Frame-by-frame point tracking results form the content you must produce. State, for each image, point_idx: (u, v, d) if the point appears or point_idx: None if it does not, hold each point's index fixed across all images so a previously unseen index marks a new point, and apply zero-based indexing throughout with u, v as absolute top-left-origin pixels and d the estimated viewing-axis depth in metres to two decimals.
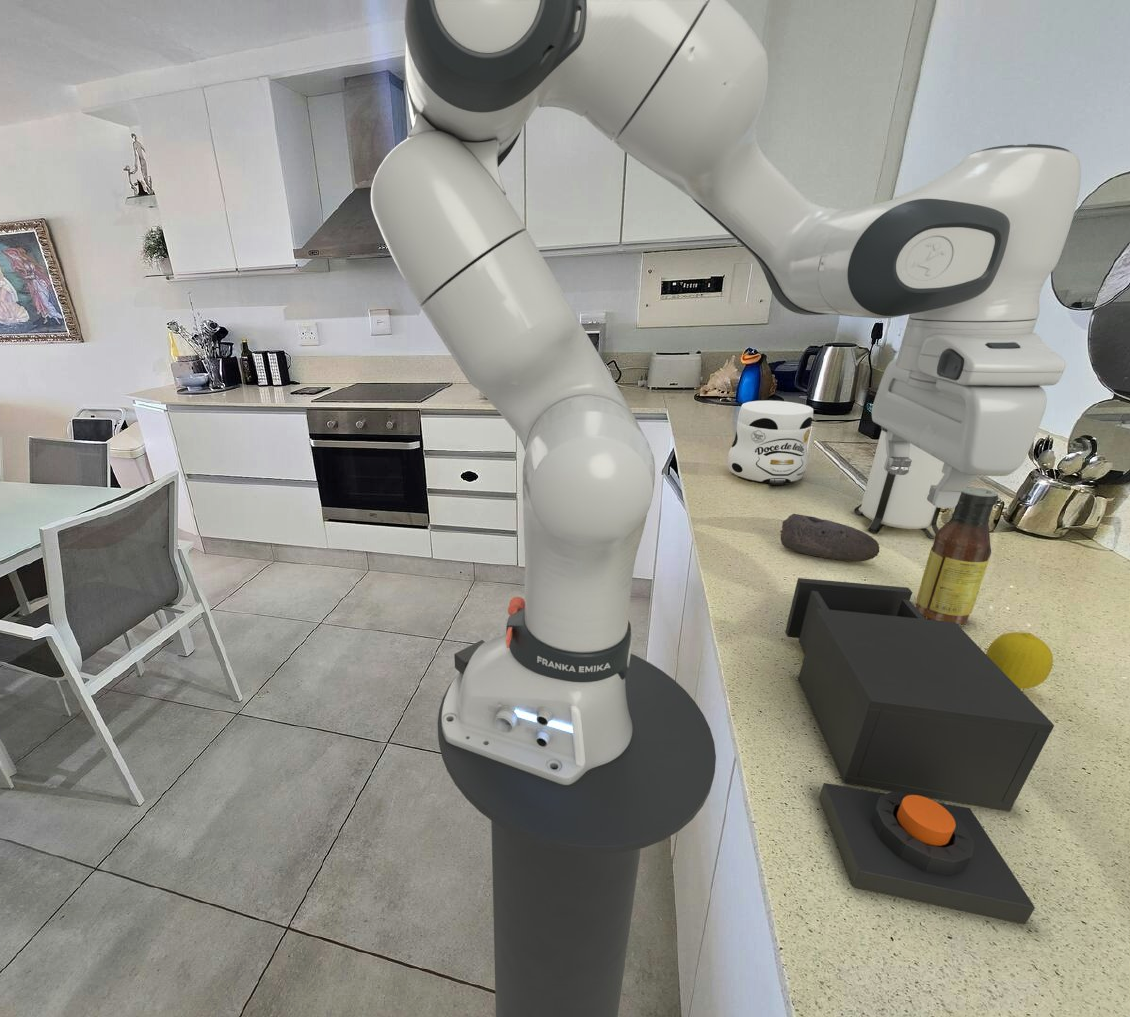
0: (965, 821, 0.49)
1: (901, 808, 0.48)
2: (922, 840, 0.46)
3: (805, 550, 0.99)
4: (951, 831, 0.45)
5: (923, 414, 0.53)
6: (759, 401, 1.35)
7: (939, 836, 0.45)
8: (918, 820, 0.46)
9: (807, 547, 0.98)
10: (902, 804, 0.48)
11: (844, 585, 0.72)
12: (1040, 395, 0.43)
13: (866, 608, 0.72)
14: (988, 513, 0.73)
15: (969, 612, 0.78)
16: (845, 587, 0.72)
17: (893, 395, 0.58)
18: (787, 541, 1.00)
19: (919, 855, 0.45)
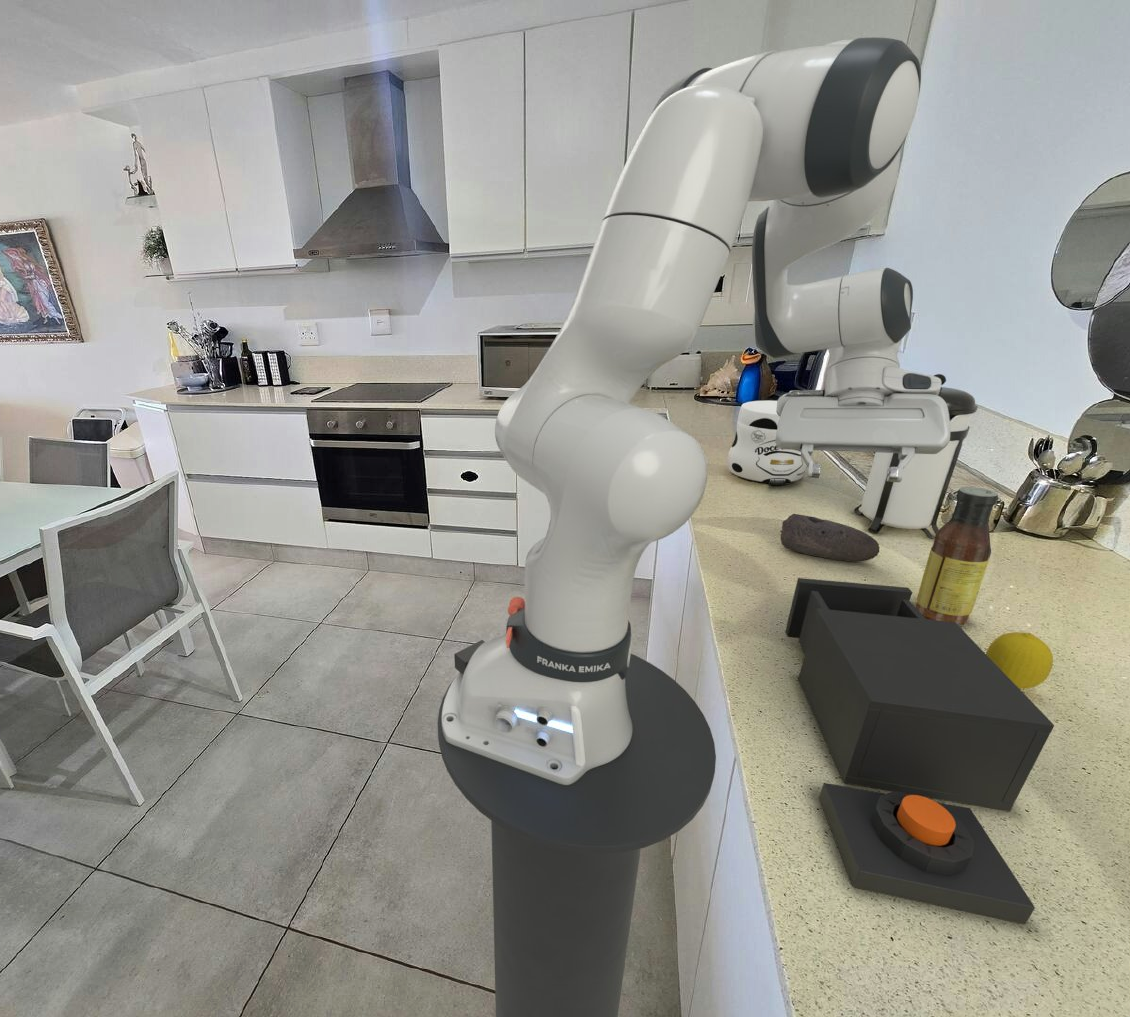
0: (965, 821, 0.49)
1: (901, 808, 0.48)
2: (922, 840, 0.46)
3: (805, 550, 0.99)
4: (951, 831, 0.45)
5: (867, 422, 0.77)
6: (759, 401, 1.35)
7: (939, 836, 0.45)
8: (918, 820, 0.46)
9: (807, 547, 0.98)
10: (902, 804, 0.48)
11: (844, 585, 0.72)
12: None
13: (866, 608, 0.72)
14: (988, 513, 0.73)
15: (969, 612, 0.78)
16: (845, 587, 0.72)
17: (812, 418, 0.80)
18: (787, 541, 1.00)
19: (919, 855, 0.45)
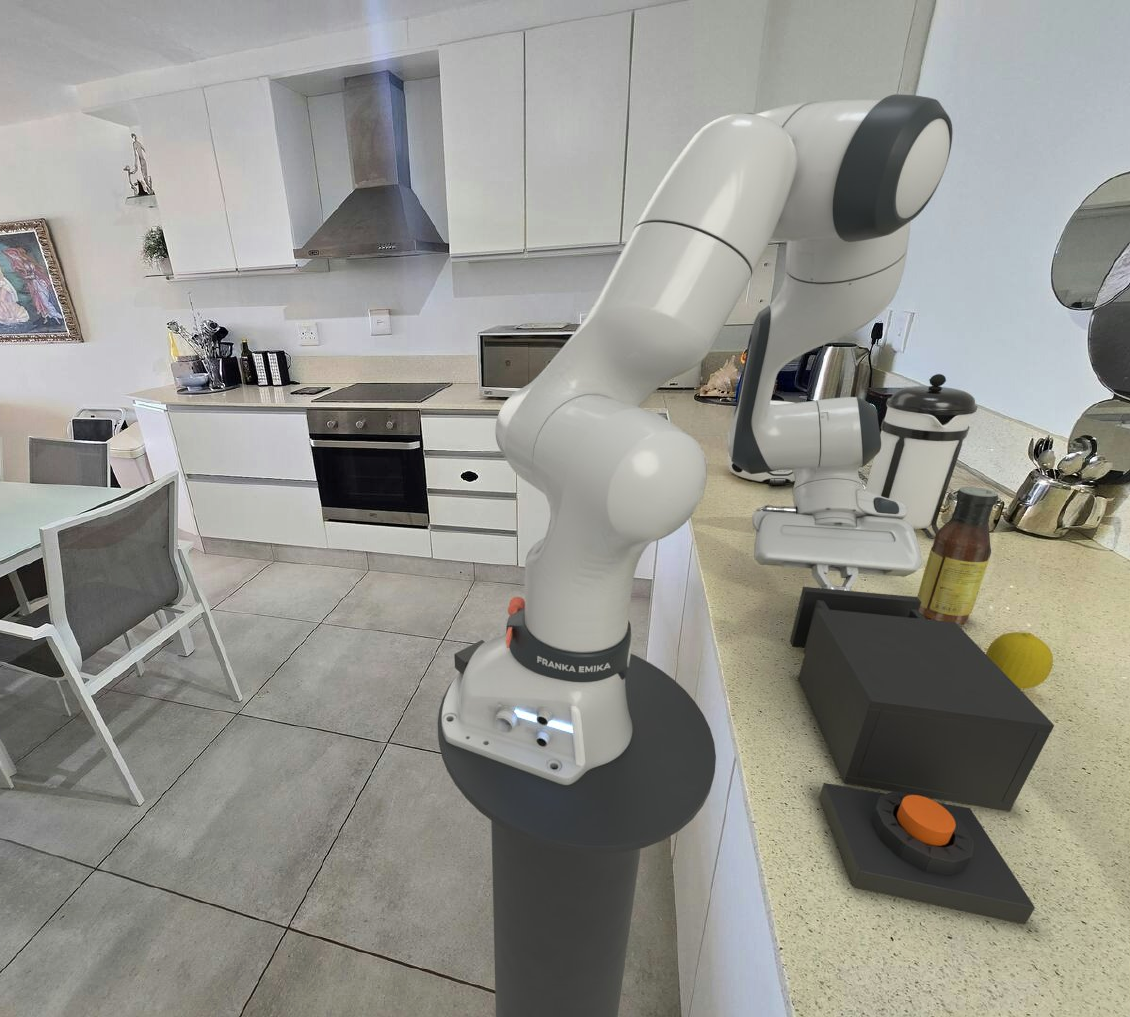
0: (965, 821, 0.49)
1: (901, 808, 0.48)
2: (922, 840, 0.46)
3: None
4: (951, 831, 0.45)
5: (845, 542, 0.77)
6: None
7: (939, 836, 0.45)
8: (918, 820, 0.46)
9: None
10: (902, 804, 0.48)
11: (850, 594, 0.70)
12: None
13: None
14: (988, 513, 0.73)
15: (969, 612, 0.78)
16: (852, 596, 0.70)
17: (792, 535, 0.79)
18: None
19: (919, 855, 0.45)
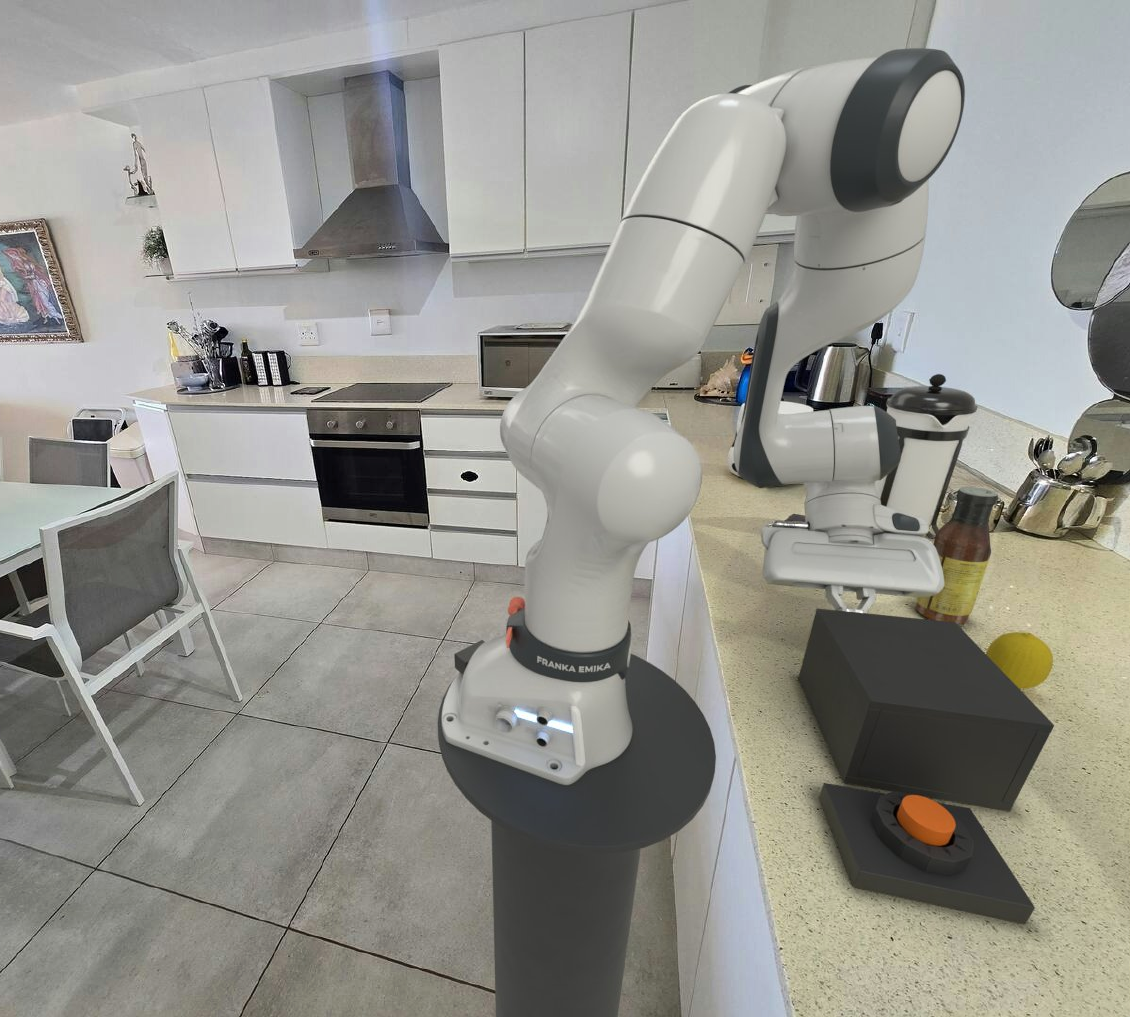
0: (965, 821, 0.49)
1: (901, 808, 0.48)
2: (922, 840, 0.46)
3: None
4: (951, 831, 0.45)
5: (861, 562, 0.72)
6: None
7: (939, 836, 0.45)
8: (918, 820, 0.46)
9: None
10: (902, 804, 0.48)
11: None
12: None
13: None
14: (988, 513, 0.73)
15: (969, 612, 0.78)
16: None
17: (805, 554, 0.74)
18: None
19: (919, 855, 0.45)
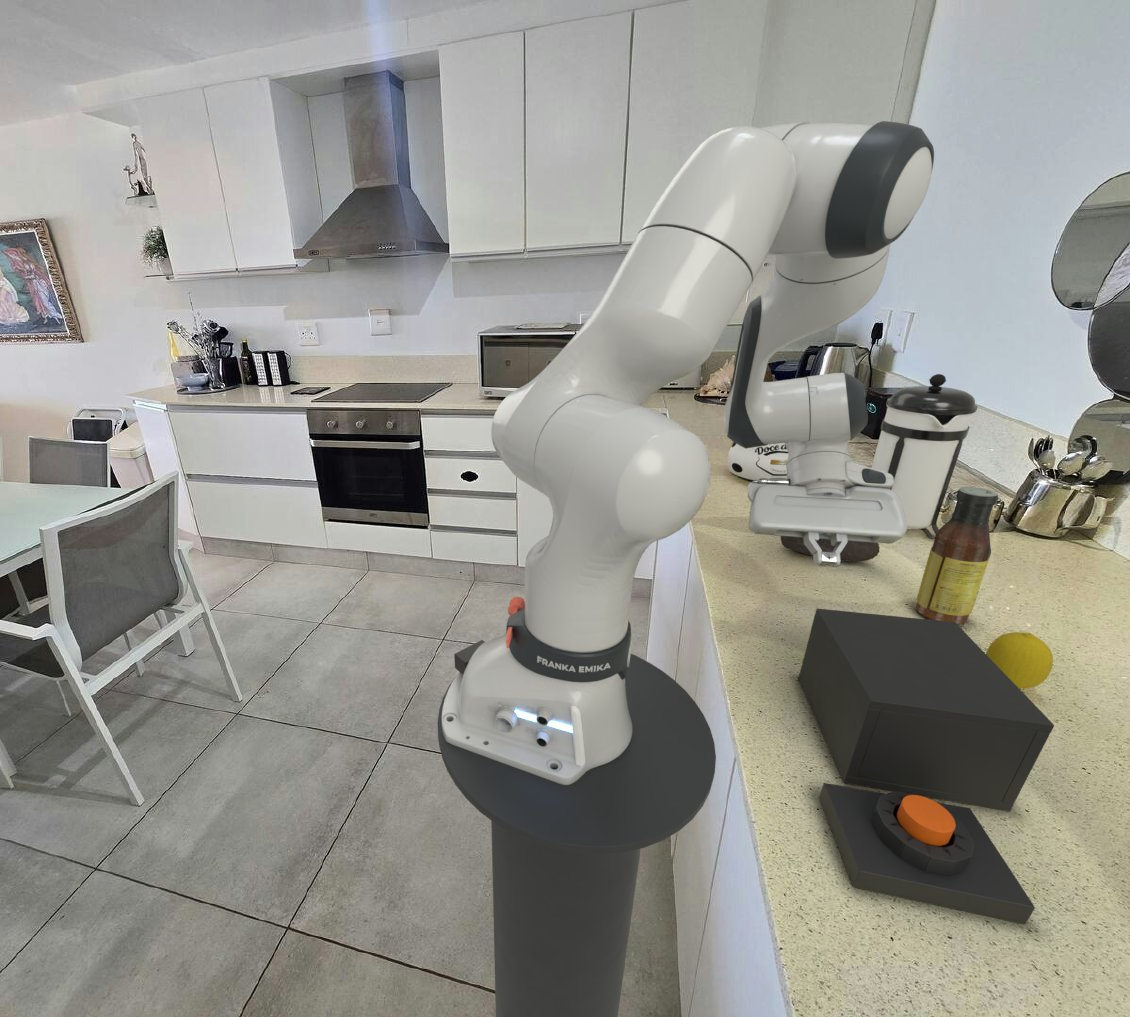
0: (965, 821, 0.49)
1: (901, 808, 0.48)
2: (922, 840, 0.46)
3: (805, 550, 0.99)
4: (951, 831, 0.45)
5: (835, 511, 0.81)
6: None
7: (939, 836, 0.45)
8: (918, 820, 0.46)
9: None
10: (902, 804, 0.48)
11: None
12: None
13: None
14: (988, 513, 0.73)
15: (969, 612, 0.78)
16: None
17: (785, 505, 0.83)
18: (787, 541, 1.00)
19: (919, 855, 0.45)
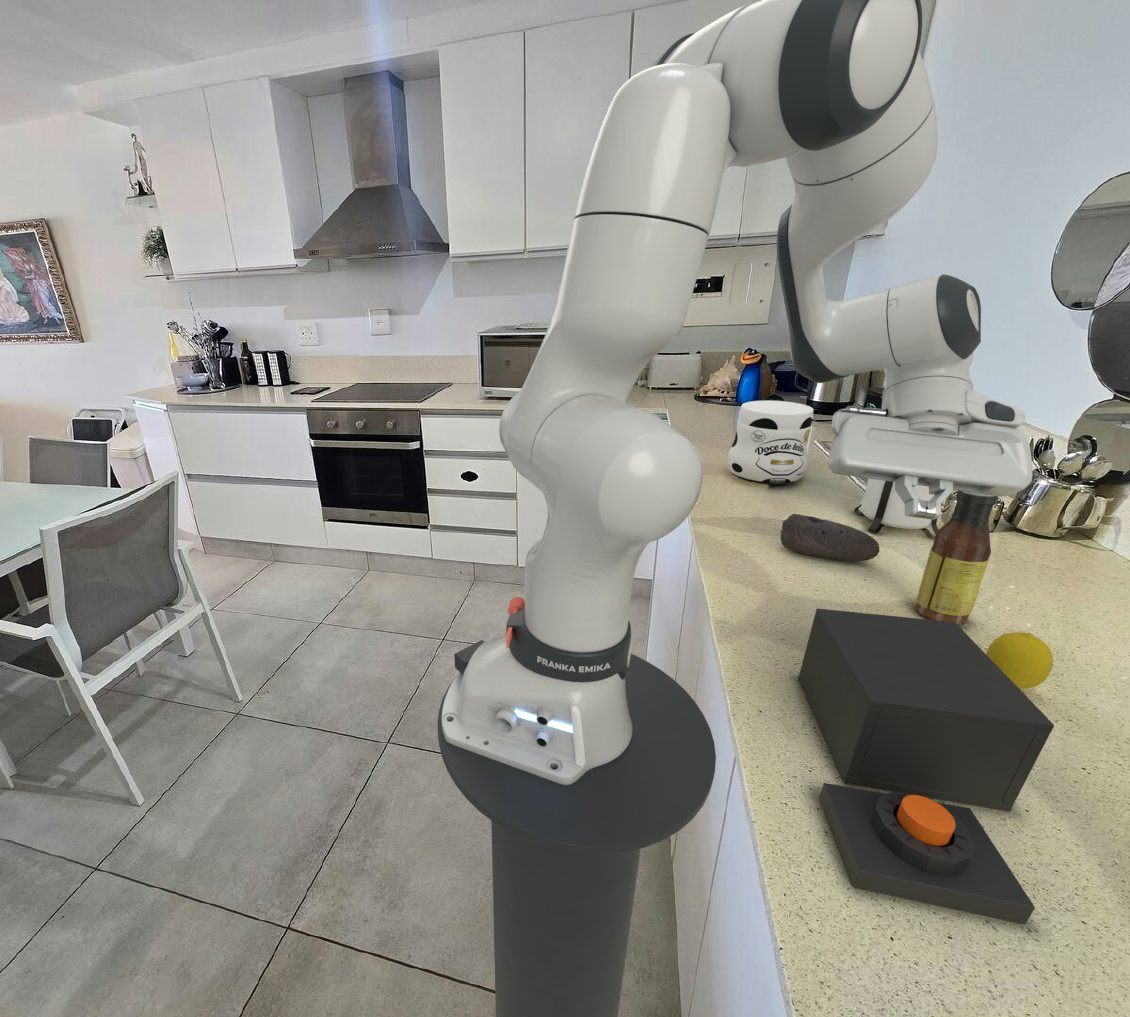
0: (965, 821, 0.49)
1: (901, 808, 0.48)
2: (922, 840, 0.46)
3: (805, 550, 0.99)
4: (951, 831, 0.45)
5: (942, 452, 0.66)
6: (759, 401, 1.35)
7: (939, 836, 0.45)
8: (918, 820, 0.46)
9: (807, 547, 0.98)
10: (902, 804, 0.48)
11: None
12: None
13: None
14: (988, 513, 0.73)
15: (969, 612, 0.78)
16: None
17: (880, 441, 0.68)
18: (787, 541, 1.00)
19: (919, 855, 0.45)
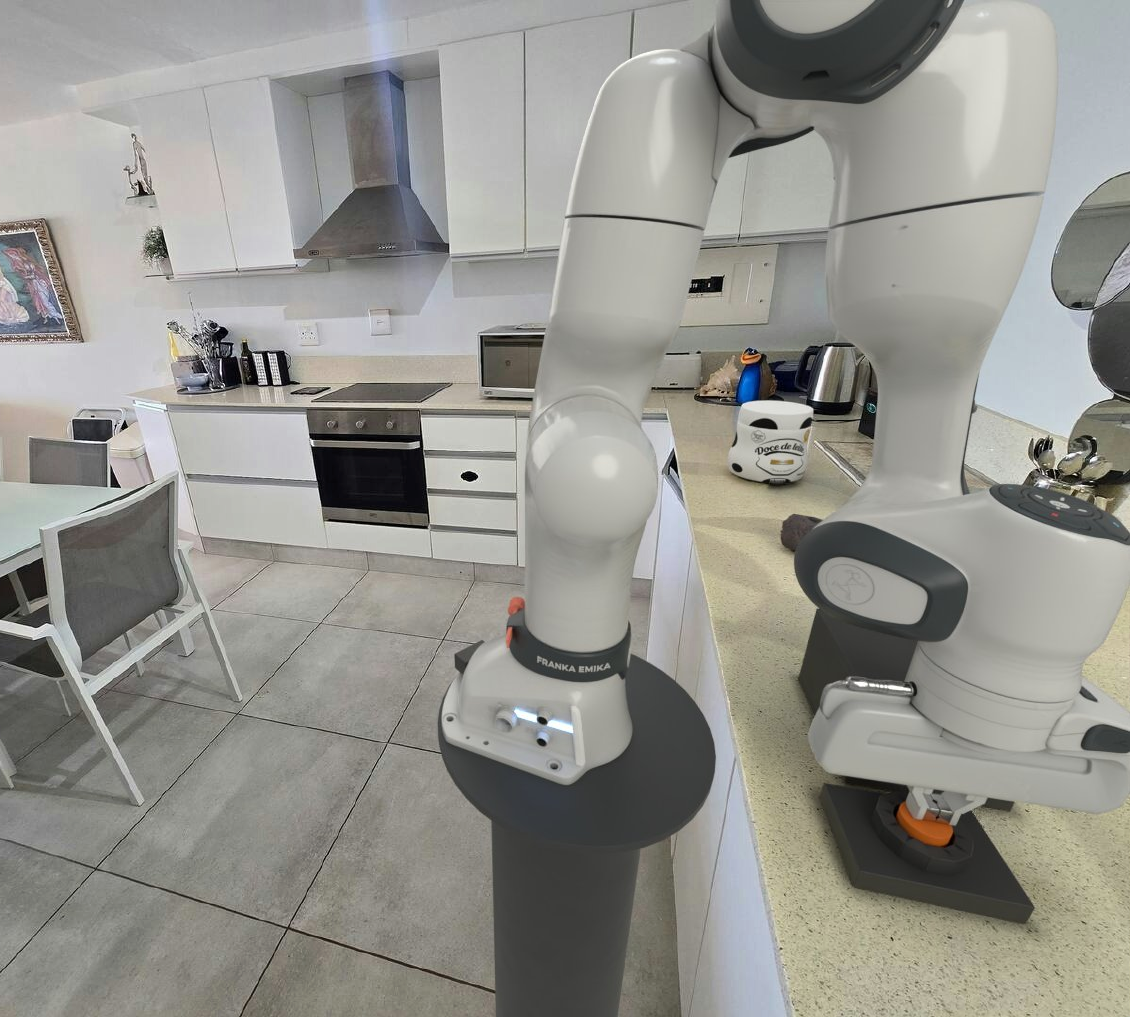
0: (965, 821, 0.49)
1: (899, 814, 0.48)
2: None
3: None
4: (948, 837, 0.46)
5: (985, 767, 0.42)
6: (759, 401, 1.35)
7: (937, 841, 0.46)
8: (915, 826, 0.47)
9: None
10: (900, 810, 0.48)
11: None
12: None
13: None
14: None
15: None
16: None
17: (888, 749, 0.44)
18: (787, 541, 1.00)
19: (919, 855, 0.45)
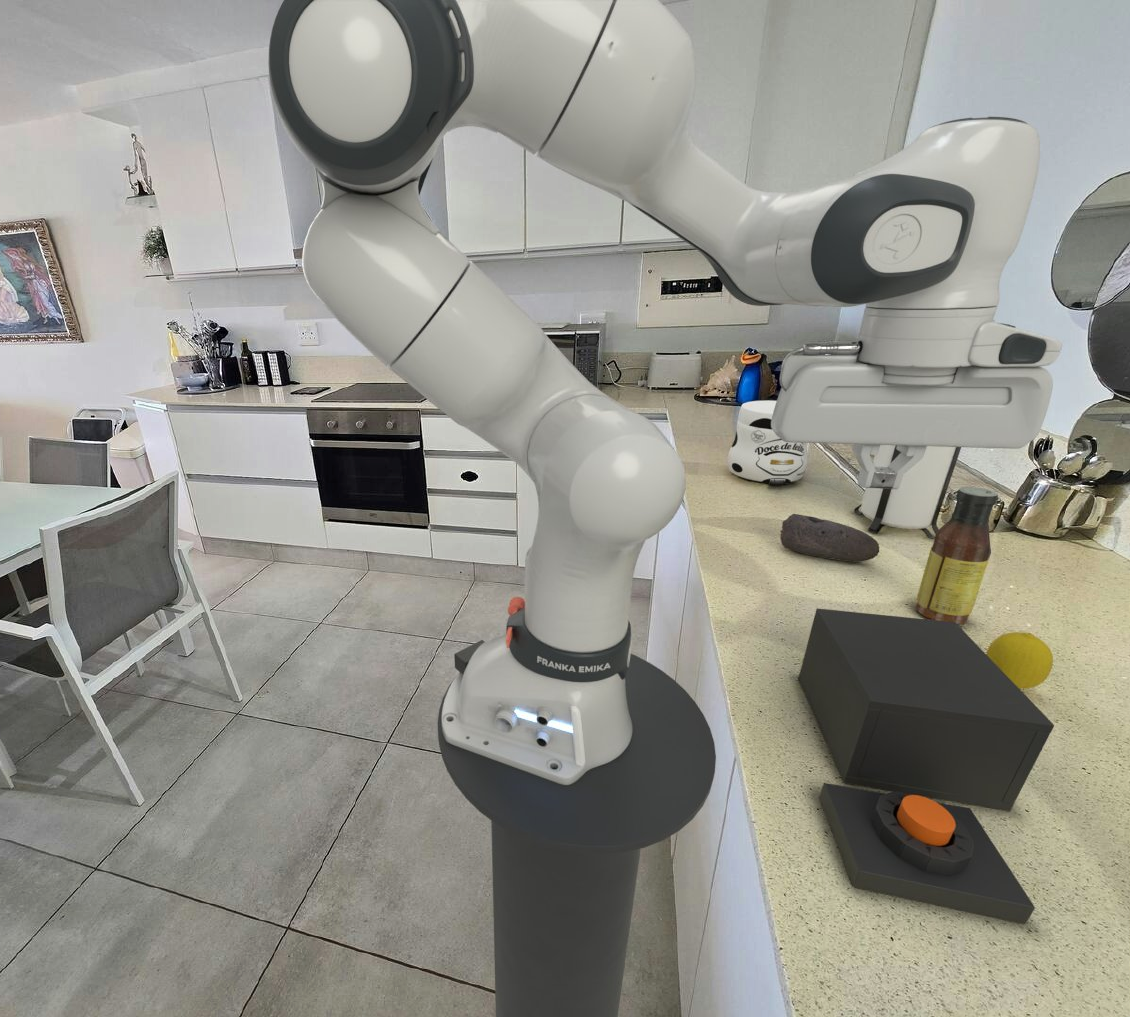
0: (965, 821, 0.49)
1: (901, 808, 0.48)
2: (922, 840, 0.46)
3: (805, 550, 0.99)
4: (951, 831, 0.45)
5: (921, 411, 0.48)
6: (759, 401, 1.35)
7: (939, 836, 0.45)
8: (918, 820, 0.46)
9: (807, 547, 0.98)
10: (902, 804, 0.48)
11: None
12: None
13: None
14: (988, 513, 0.73)
15: (969, 612, 0.78)
16: None
17: (838, 404, 0.50)
18: (787, 541, 1.00)
19: (919, 855, 0.45)
